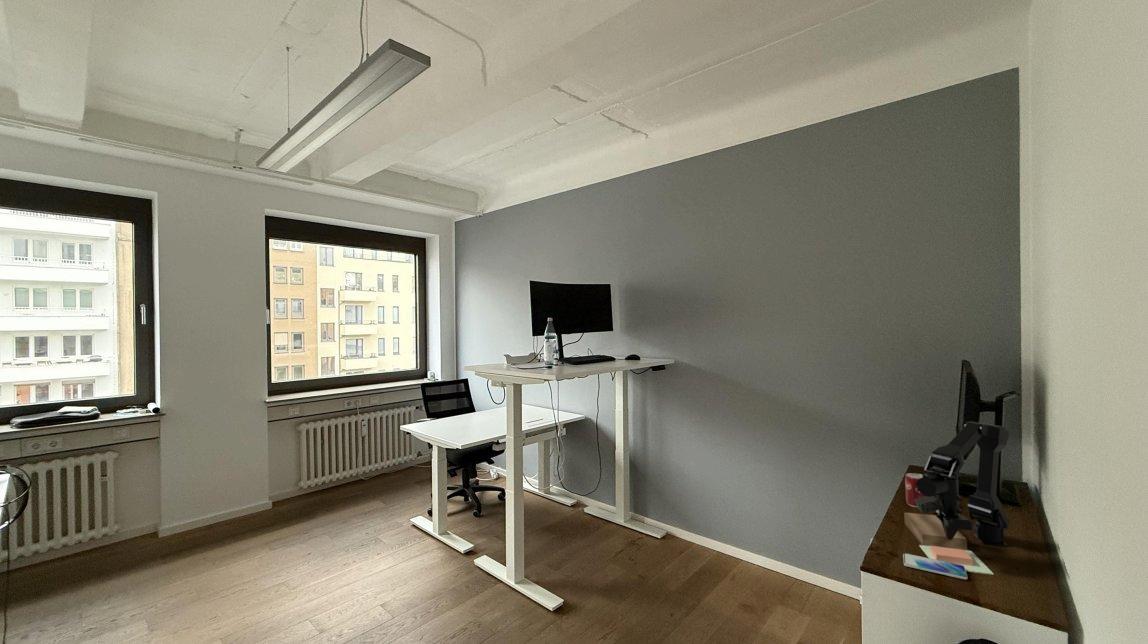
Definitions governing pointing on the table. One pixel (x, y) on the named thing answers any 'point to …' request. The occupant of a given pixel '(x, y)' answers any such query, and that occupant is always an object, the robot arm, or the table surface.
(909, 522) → the tan flat slab
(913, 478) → the soda can
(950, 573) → the smartphone
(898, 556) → the table surface
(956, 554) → the block
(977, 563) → the mat
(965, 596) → the table surface
